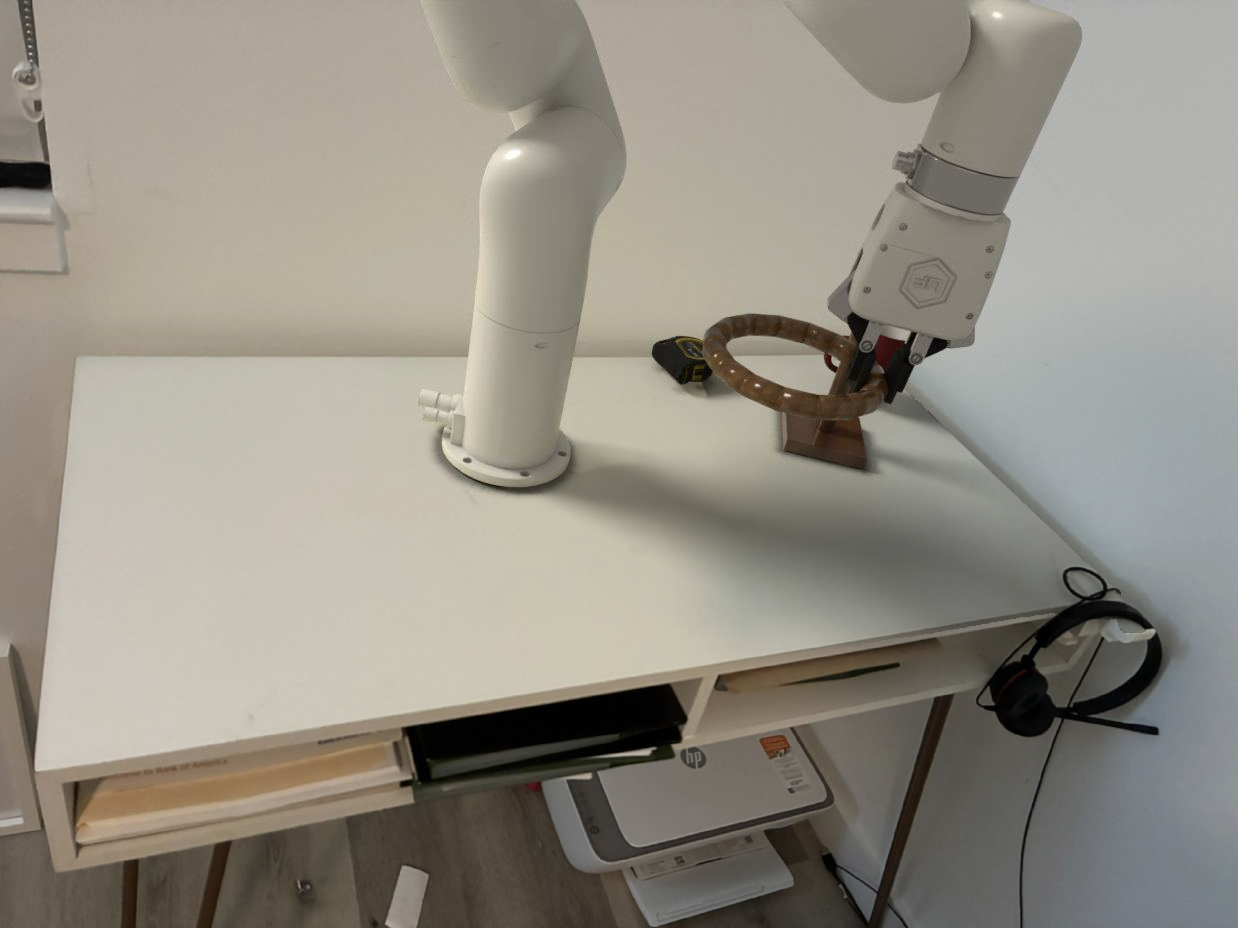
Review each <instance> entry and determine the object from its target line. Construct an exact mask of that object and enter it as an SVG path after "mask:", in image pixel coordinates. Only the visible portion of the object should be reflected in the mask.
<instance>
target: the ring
mask: <svg viewBox="0 0 1238 928" xmlns="http://www.w3.org/2000/svg"><path fill="white" fill-rule="evenodd" d="M745 337H767V338H768V337H769V338H777V339H781V340H786V341H790V342H794V343H797V344H798V343H799V344H803V345H804V346H808V347H810V348H812V349H815V350H817V351H819V352H823V354H824V353H827V354H829V355H831V356H832V358H834V359H835V360H837V361H839V363H840V362H842V363H843V364H845V365H846V366H848V364H849V362H850V359H851V357H852V354H853V352H854V350H855V347H856V344H854V343H853V342H851V341H850V340H848V339H846V338H845V337H843V335H841V334H840V333H837V332H835V331H833V330H830V329H827V328H824V327H822V326H819V325H817V324H814V323H813V322H810V321H805V320H801V319H797V318H793V317H788V316H784V315H780V314H766V313H750V312H749V313H748V312H747V313H743V314H736V315H731V316H726V317H723V318H721V319H719V320H718V321H717V322H716V323H714V324H712V325H711V326H710V327H709V328H707V329H706V330H705V332H704V334H703V339H702V341H703V349H702V354H703V357H704V359H705V361H706V362H707V364H708V365H709V366H710V368H711V369H712V371H713V374H714V376H715V377H716V378H717V379H718V380H720V381H721V382H723V383H724V384H725V385H727V386H728V387H729V388H730V389H732V390H733V391H735V392H736V393H737V394H738V395H740V396H742V397H744V398H746V399H748V400H751V402H752V401H753V402H755V403H757V404H759V405H761V406H764V407H766V408H769V409H771V410H773V411H775V412H779V413H782V412H783V413H787V414H791V415H795V416H800V417H804V418H808V419H813V420H851V419H854V418H857V417H859V418H860V417H863V416H867V415H870V414H872V413H875V412H876V411H877V410H878V409H879V407H880V406H881V404H882V403H883V402H884V401H883V400H884V399H885V397H886V396H887V394H888V385H887V381H886V378H885V374H884V370H883V369H882V367H881V366H880V365H879V364H878V363H877V362H876V361H875V363H874V365H873V368H872V370H871V372H870V375H869V377H868V379H867V382H866V384H865V385H864V386H863V388H862V389H861V390H860V391H858V392H855V393H851V394H847V395H828V394H818V393H813V392H808V391H804V390H800V389H796V388H793V387H792V388H791V387H786V386H784V385H781V384H779V383H776V382H774V381H772V380H770V379H768V378H766V377H763V376H760V375H758V374H756V373H755V372H753V371H752V370H750V369H749V368H747V367H746V366H745V365H743V364H741V363H740V362H739V361H737V360H736V359H735V358H734V356H733V355H732V354H731V353H730V351H729V350H728V347H727V344H728V343H730V342H731V341H732V340H735V339H739V338H740V339H741V338H745Z"/></svg>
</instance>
